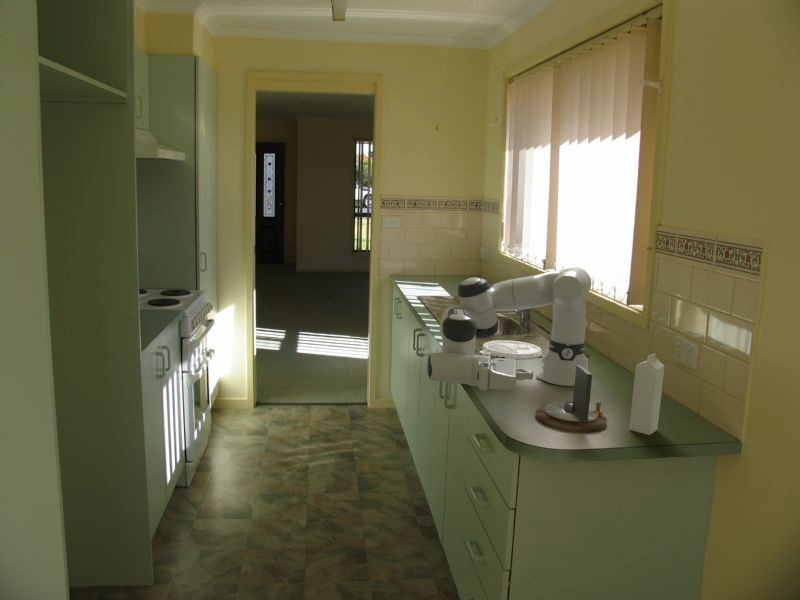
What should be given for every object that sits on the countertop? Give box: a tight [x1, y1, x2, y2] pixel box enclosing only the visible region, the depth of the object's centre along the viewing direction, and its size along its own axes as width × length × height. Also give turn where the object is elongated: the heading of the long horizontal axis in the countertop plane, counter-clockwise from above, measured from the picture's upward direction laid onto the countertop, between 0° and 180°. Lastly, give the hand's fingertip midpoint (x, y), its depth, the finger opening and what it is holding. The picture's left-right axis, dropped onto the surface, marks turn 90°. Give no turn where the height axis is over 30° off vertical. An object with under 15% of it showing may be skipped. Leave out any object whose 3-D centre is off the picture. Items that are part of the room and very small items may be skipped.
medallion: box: [479, 339, 543, 360], centre depth 288 cm, size 24×27×2 cm
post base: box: [535, 401, 607, 433], centre depth 209 cm, size 20×20×5 cm
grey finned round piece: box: [544, 365, 604, 423], centre depth 206 cm, size 18×17×15 cm
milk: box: [628, 352, 666, 436], centre depth 202 cm, size 6×6×22 cm
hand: (533, 375), depth 202 cm, fingers closed
